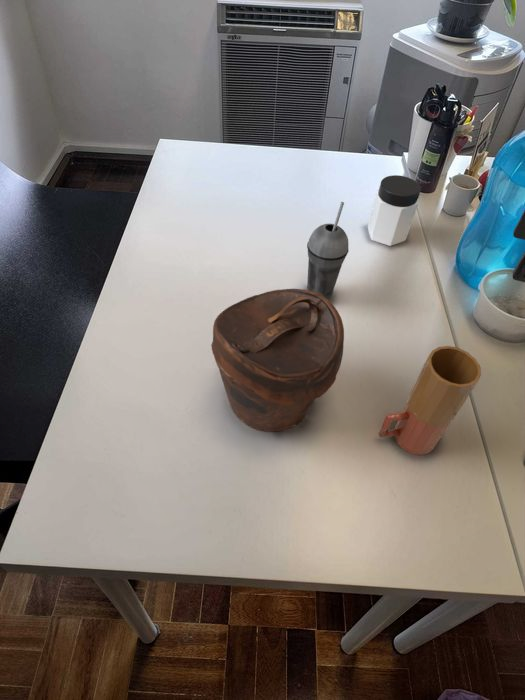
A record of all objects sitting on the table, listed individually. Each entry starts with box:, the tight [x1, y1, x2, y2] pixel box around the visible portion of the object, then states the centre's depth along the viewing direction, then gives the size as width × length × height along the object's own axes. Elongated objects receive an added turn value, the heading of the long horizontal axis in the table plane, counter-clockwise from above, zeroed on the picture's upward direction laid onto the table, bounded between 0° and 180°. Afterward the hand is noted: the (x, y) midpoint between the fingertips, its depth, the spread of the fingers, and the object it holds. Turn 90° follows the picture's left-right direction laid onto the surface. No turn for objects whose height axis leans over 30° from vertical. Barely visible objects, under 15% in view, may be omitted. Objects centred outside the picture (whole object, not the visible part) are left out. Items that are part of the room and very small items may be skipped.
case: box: [210, 288, 345, 432], centre depth 68 cm, size 18×20×18 cm
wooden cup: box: [407, 345, 482, 426], centre depth 61 cm, size 6×6×9 cm
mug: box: [377, 400, 452, 456], centre depth 68 cm, size 9×6×8 cm, turn 99°
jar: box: [367, 174, 422, 247], centre depth 100 cm, size 9×8×12 cm
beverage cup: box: [306, 201, 349, 301], centre depth 83 cm, size 7×7×20 cm
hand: (521, 257), depth 56 cm, fingers open, 8 cm apart
